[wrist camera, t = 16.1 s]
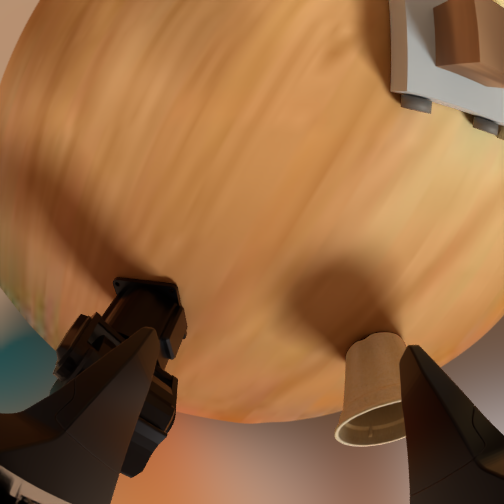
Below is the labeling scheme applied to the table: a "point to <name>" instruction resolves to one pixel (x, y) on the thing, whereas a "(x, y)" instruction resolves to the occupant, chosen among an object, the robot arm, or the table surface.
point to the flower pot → (372, 392)
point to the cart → (434, 69)
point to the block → (471, 40)
